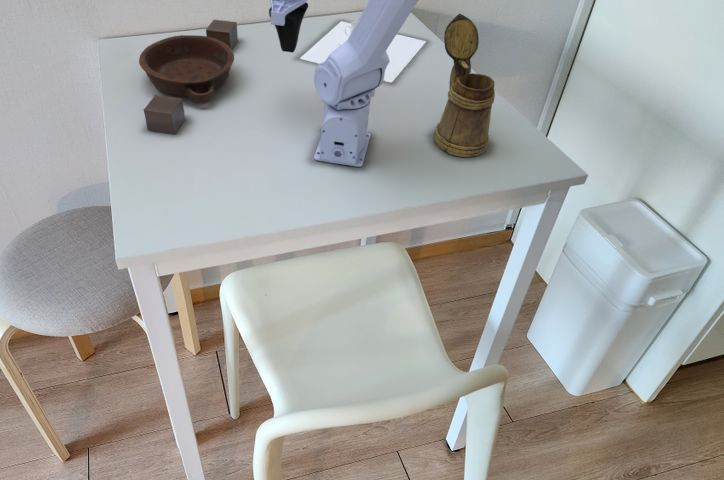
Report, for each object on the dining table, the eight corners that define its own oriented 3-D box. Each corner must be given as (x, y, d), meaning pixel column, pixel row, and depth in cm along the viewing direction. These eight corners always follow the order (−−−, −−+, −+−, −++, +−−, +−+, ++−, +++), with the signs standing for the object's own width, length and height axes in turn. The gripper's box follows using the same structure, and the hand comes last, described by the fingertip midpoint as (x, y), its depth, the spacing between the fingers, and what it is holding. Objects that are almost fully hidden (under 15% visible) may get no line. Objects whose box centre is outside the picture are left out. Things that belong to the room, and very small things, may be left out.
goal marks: (174, 134, 100) (171, 113, 97) (147, 130, 101) (143, 109, 98) (238, 41, 124) (236, 22, 121) (215, 38, 125) (213, 19, 122)
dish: (155, 118, 104) (150, 92, 100) (134, 61, 117) (129, 36, 114) (250, 101, 108) (248, 76, 104) (219, 48, 122) (217, 24, 118)
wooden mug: (460, 110, 107) (484, 9, 93) (497, 153, 98) (530, 48, 85) (414, 117, 105) (433, 15, 92) (448, 161, 96) (474, 55, 83)
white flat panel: (384, 41, 125) (387, 21, 122) (370, 56, 120) (372, 36, 117) (347, 31, 127) (348, 12, 124) (331, 46, 123) (332, 27, 120)
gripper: (275, -56, 95) (276, 28, 105) (250, -22, 85) (253, 67, 95) (318, -51, 94) (315, 33, 104) (297, -17, 84) (296, 72, 94)
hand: (288, 50), depth 99 cm, fingers closed
